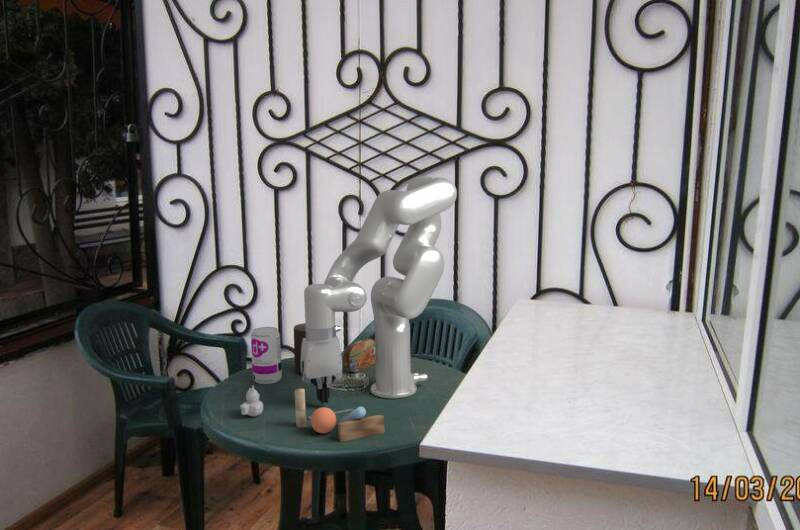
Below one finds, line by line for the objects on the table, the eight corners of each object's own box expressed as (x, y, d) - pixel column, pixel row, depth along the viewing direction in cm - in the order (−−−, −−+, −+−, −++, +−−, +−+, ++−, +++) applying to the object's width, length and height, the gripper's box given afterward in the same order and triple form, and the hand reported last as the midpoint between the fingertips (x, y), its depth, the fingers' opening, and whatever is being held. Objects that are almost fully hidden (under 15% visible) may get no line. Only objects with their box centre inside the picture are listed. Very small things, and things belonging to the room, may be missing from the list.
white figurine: (269, 414, 182) (267, 384, 181) (248, 422, 177) (246, 391, 176) (255, 409, 186) (253, 380, 184) (234, 417, 181) (232, 387, 179)
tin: (350, 376, 211) (349, 348, 209) (341, 374, 212) (340, 346, 211) (379, 362, 223) (378, 336, 222) (371, 360, 225) (370, 334, 223)
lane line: (352, 409, 185) (352, 408, 185) (353, 410, 184) (353, 409, 184) (307, 417, 180) (307, 417, 179) (309, 419, 179) (308, 418, 179)
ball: (344, 419, 172) (330, 399, 171) (336, 431, 166) (322, 410, 166) (324, 429, 174) (311, 409, 173) (316, 441, 168) (302, 420, 168)
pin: (348, 417, 175) (365, 406, 168) (349, 427, 174) (366, 416, 167) (339, 417, 173) (356, 406, 167) (340, 427, 172) (357, 416, 166)
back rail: (381, 430, 171) (381, 414, 170) (384, 432, 169) (384, 416, 169) (338, 439, 166) (337, 423, 165) (340, 442, 165) (340, 425, 164)
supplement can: (268, 386, 203) (266, 335, 200) (247, 381, 207) (244, 331, 205) (287, 378, 210) (285, 328, 207) (266, 373, 214) (263, 324, 211)
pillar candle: (295, 377, 210) (294, 327, 208) (293, 366, 220) (292, 319, 217) (329, 374, 212) (328, 325, 210) (325, 364, 222) (324, 317, 219)
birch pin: (304, 423, 176) (302, 387, 175) (307, 426, 174) (305, 390, 173) (294, 424, 175) (293, 389, 174) (297, 428, 173) (296, 392, 172)
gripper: (342, 325, 190) (345, 392, 193) (287, 333, 183) (291, 402, 186) (353, 332, 183) (355, 401, 186) (296, 340, 177) (300, 411, 180)
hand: (323, 401), depth 186 cm, fingers closed
